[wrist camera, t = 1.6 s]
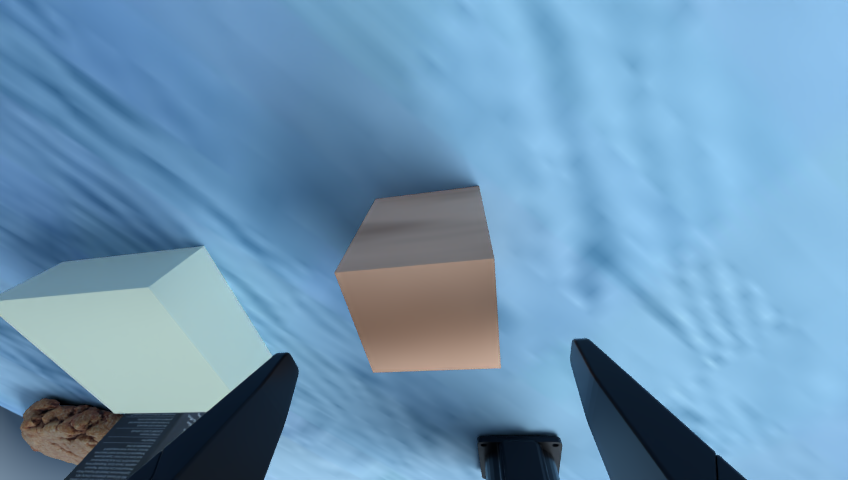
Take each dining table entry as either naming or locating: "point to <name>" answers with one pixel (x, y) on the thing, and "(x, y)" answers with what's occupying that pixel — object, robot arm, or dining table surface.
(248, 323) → the sage base block
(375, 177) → the dining table surface
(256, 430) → the robot arm
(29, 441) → the cookie
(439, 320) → the terracotta block
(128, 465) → the box
